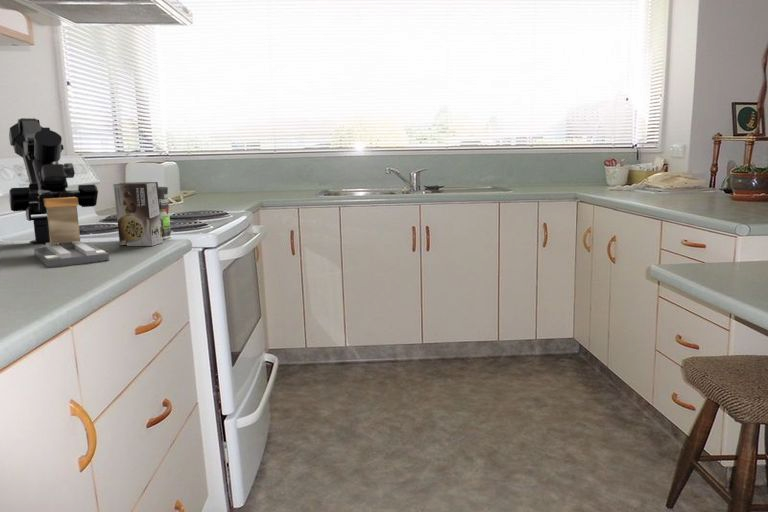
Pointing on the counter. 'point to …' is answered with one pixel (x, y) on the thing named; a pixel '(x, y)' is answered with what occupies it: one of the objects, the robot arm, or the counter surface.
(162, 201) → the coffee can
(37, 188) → the robot arm
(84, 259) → the fader deck
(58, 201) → the block
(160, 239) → the grey printed cardboard box
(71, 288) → the counter surface
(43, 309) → the counter surface
